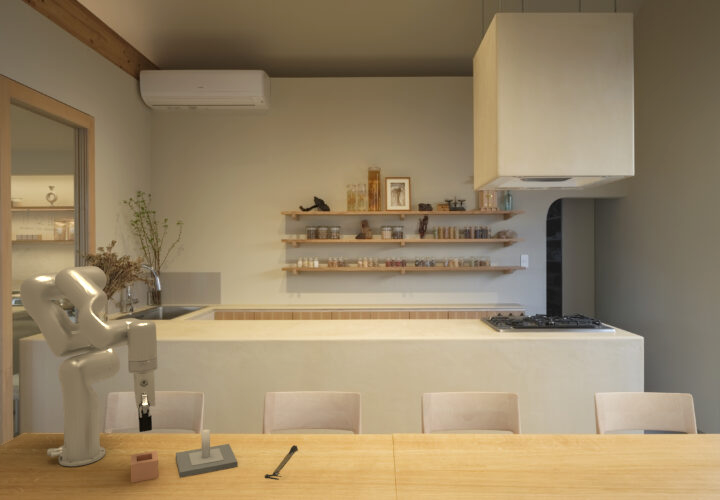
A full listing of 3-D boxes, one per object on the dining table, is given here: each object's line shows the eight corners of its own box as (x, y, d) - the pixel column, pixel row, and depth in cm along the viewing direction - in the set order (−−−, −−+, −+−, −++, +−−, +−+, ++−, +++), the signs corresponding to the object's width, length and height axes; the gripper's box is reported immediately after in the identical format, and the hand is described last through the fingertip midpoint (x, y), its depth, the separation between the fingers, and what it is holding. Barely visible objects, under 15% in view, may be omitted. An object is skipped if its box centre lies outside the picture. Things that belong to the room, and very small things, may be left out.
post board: (180, 477, 143) (179, 444, 143) (175, 457, 156) (175, 427, 156) (237, 466, 150) (237, 434, 150) (229, 448, 163) (228, 418, 162)
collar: (131, 482, 140) (130, 464, 140) (131, 472, 147) (130, 454, 147) (158, 477, 143) (158, 460, 143) (157, 467, 150) (156, 450, 150)
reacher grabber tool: (285, 484, 141) (285, 481, 141) (263, 480, 143) (263, 476, 143) (311, 451, 162) (311, 448, 161) (292, 447, 163) (292, 444, 163)
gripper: (158, 370, 138) (161, 433, 138) (155, 357, 153) (157, 413, 154) (128, 373, 135) (130, 438, 135) (128, 360, 150) (130, 418, 151)
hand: (145, 425), depth 144 cm, fingers open, 9 cm apart
